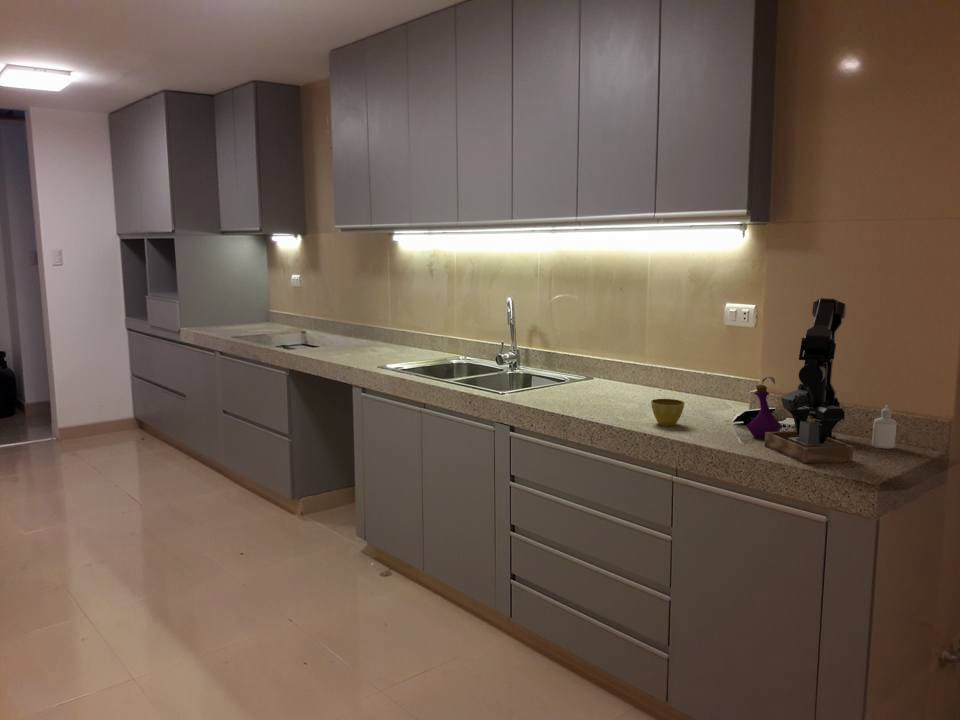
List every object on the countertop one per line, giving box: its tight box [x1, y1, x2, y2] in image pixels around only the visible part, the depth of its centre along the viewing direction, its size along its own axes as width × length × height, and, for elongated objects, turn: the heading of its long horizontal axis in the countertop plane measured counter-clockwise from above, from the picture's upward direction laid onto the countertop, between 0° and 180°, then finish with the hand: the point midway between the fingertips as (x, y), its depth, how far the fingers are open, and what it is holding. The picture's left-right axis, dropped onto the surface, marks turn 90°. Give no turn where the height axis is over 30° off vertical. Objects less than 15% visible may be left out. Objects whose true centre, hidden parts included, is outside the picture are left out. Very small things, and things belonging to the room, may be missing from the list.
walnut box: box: [764, 430, 854, 464], centre depth 208 cm, size 18×14×4 cm
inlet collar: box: [788, 437, 833, 448], centre depth 207 cm, size 8×8×3 cm
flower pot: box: [650, 398, 685, 427], centre depth 241 cm, size 10×10×7 cm
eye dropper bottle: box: [871, 404, 898, 450], centre depth 215 cm, size 4×6×12 cm
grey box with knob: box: [799, 417, 819, 444], centre depth 206 cm, size 4×4×9 cm
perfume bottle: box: [746, 376, 783, 440], centre depth 225 cm, size 8×8×18 cm
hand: (810, 438), depth 206 cm, fingers open, 9 cm apart
